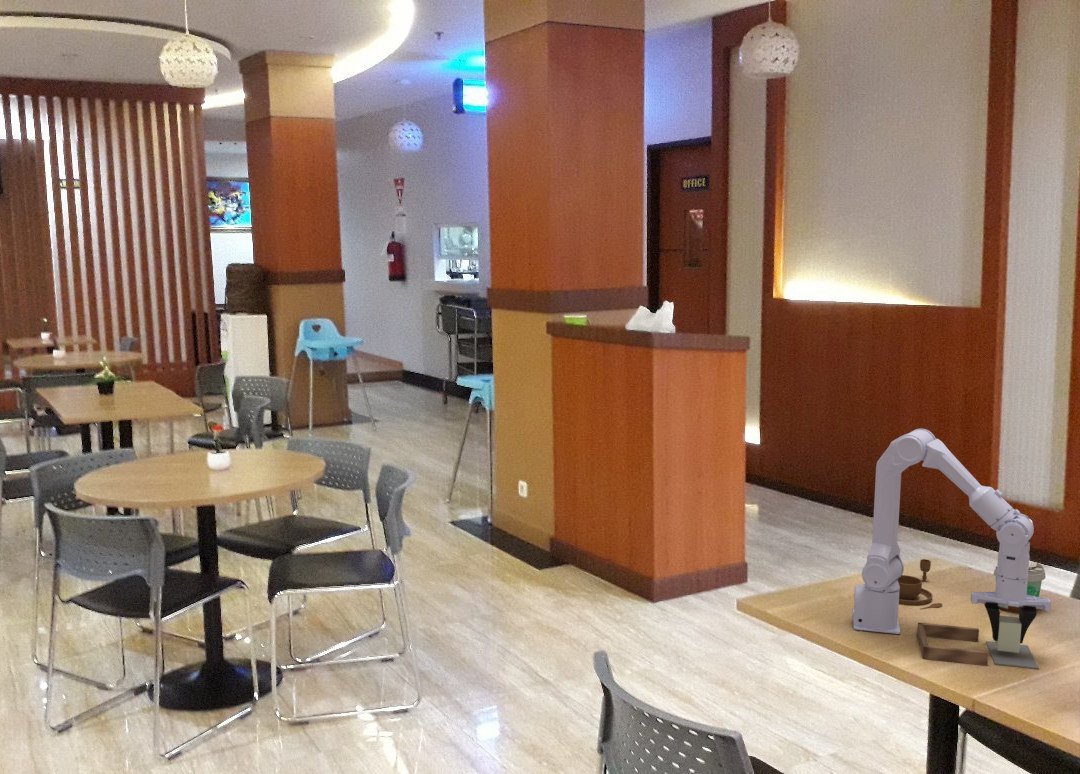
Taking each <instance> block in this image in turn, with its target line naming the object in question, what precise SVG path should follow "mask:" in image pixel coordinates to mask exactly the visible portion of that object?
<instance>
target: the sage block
mask: <svg viewBox="0 0 1080 774" xmlns="http://www.w3.org/2000/svg"><path fill="white" fill-rule="evenodd" d="M1020 637H1021V622H1020V620H1019V616H1012V615H1010V616H1009V615H1002V614H1000V617H999V624H998V641H994V642H995V645H996V648H997V650H998V651H1007V652H1017V653H1019V650H1020V645H1021V643H1020Z"/></svg>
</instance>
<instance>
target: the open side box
mask: <svg viewBox="0 0 1080 774" xmlns="http://www.w3.org/2000/svg"><path fill="white" fill-rule="evenodd" d="M916 629H917V630H916V634H917V638H918V644H919V648H920V651H921V656H922V659H924V660H932V661H941V662H951V663H952V662H953V663H958V664H959V663H961V664H969V665H977V666H988V664H989V652H988V651H986V650H985V651H984V650H974V649H965V648H956V647H955V648H954V647H947V646H938V645H929V642H928V638H927V637H929V638H930V637H931V638H940V639H949V640H959V641H969V642H979V638H980V637H979V634H980V629H979V628H978V627H968V626H967V627H966V626H958V625H957V626H956V625H946V624H937V623H926V622H917V628H916Z"/></svg>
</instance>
